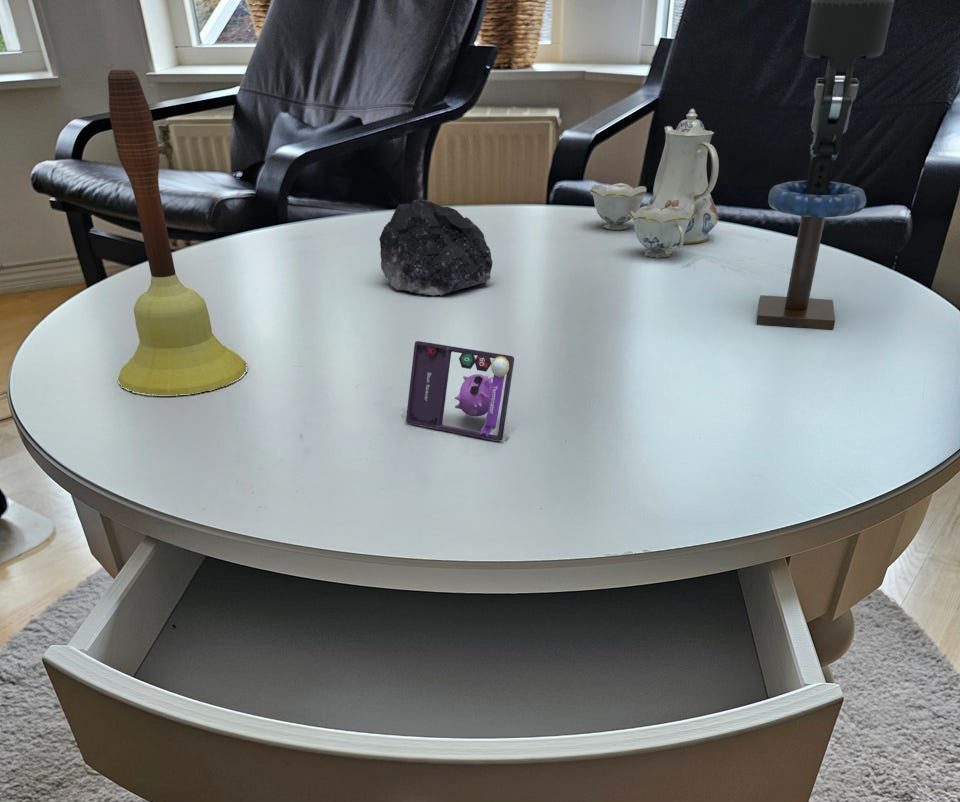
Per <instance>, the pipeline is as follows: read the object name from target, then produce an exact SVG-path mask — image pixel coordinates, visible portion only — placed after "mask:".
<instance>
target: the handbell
mask: <svg viewBox="0 0 960 802" xmlns="http://www.w3.org/2000/svg"><path fill="white" fill-rule="evenodd" d="M107 87H108V110H109V111H108V112H109V121H110V124H111V130H112V134H113V140H114V144H115V148H116V153H117V157H118V160H119V162H120V164H121V166H122V169H123V170H124V172H125V175H126V176H127V178H128V181H129V183H130V185H131V189H132V193H133V196H134V201H135V207H136V211H137V215H138V220H139V225H140V229H141V234H142V239H143V243H144V249H145V253H146V257H147V258H146V259H147V262H148V267H149V272H150V285H149V287H148V289H147V291H145V292H143V293H141V294H140V295H139V296H138V297H137V299H136V301H135V304H134V307H133V314H134V320H135V327H136V331H137V337H138V341H139V343H138V346H137V348H136V350H135V352H134V354H133V356H132V357H131V358H129V360H128V361H127V362H126V363H125V364H124V366H123V367H121V369H120V372H119V375H118V378H117V381H118V380H119V382H120V384H121V385H122V387H124V388H127V389H129V390H131V391H134V392H139V393H145V394H151V395H152V394H154V395H155V394H156V395H176V394H177V395H180V394H192V393H197V392H198V393H199V392H204V391H209V390H213V389H217V388H219V387H222V386H226V385H228V384H230V383H231V382H233V381H235V380H237V379H239V378H240V377H241V376H242V375H243V374H244V372H246V367H247V366H246V364H247V362H246V360H245V359H244V358H242V357H241V355H240V354H238V353H237V352H235V351H233V350H231V349H230V348H228V347H227V346H225V345H223V343H221V341H219V339H218V338H217V337H216V336H215V334H214V333H213V330H212V329H213V328H212V324H211V323H212V322H211V318H210V314H209V310H208V307H207V303H206V301H205V299H204V297H202V296H201V295H200V294H199V293H198V292H197V291H196V290H194V289H192V288H189V287H186V286H185V285H184V284H183V283H182V282H181V281H180V279H179V277H178V275H177V273H176V268H175V264H174V258H173V254H172V247H171V243H170V238H169V231H168V229H167V228H168V227H167V222H166V218H165V213H164V207H163V202H162V198H161V193H160V184H159V173H160V161H161V160H160V159H161V158H160V149H159V143H158V138H157V133H156V129H155V125H154V119H153V114H152V111H151V109H150V105H149V103H148V101H147V98H146V96H145V92H144V90H143V88H142V85H141V82H140V79H139V76H138V74H137V73H136V71H134V70H133V69H112V70H110V71H108V75H107ZM226 387H227V386H226ZM217 390H218V389H217Z"/></svg>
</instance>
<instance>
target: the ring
mask: <svg viewBox="0 0 960 802" xmlns="http://www.w3.org/2000/svg"><path fill="white" fill-rule="evenodd" d="M807 182H808V180H807V179H806V180H792V181H787V182H782V183H779V184H775V185H774V186H772V188H771V189H770V190H769V192H768V198H767V202H768V205H769V207H770V208H771V209H773V210H775V211H776V212H777V211H778V212H780V213H782V214H786V215H792V216H799V217H801V216H804V217H825V219H826V218H827V219H828V218H837V217H839V218H840V217H847V216H850V215H853V214H857V213H860V212H861V211H862V210H863V209H864V208H865V206H866V204H867V196H866V193H865V191H864V189H862V188H861V187H858V186H855V185H853V184H850V183H844V182H837V181H831V180H830V185H829V190H828V195H808V194H806V188H807Z"/></svg>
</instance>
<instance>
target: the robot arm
mask: <svg viewBox="0 0 960 802" xmlns="http://www.w3.org/2000/svg"><path fill="white" fill-rule="evenodd" d="M894 4H895V0H811V2H810V10H809V15H808V21H807V27H806V31H805V32H806V33H805V39H804V44H803V55H805V56H806V57H808V58H814V59H826V60H827V64H826V69H825V75H824V77H816V80H815V86H814V92H813V96H814V97H813V98H814V104H813V105H814V106H813V111H812V116H811V122H810V128H811V132H812V133H813V134H812V135H811V138H810V142H811V144H810V147H809V150H810V154H809V155H810V160H809V166H808V172H807V177H806V180H808V182H807V188H806V194H808V195H828V190H829V185H830V181H831V179H832V174H833V169H834V165H835V161H836V160H837V157H838V156H839V153H840V152H841V148H842V145H841V144H842V139H843V135H844V134H845V133H846V132H847V130H848V127H849V123H850V122H849V121H850V115H851V111H852V106H853V102H854V101H855V100H856V98H857V94H858V89H859V84H860V80H858V78H857V77H855V78H854V77H853V72H854V67H855V64H856V62H857V61H858V60H860V59H874V58H879V57H880V56H881V55H883V53H884V50H885V47H886V42H887V37H888V32H889V26H890V23H891V19H892V13H893V8H894Z"/></svg>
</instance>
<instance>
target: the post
mask: <svg viewBox="0 0 960 802" xmlns="http://www.w3.org/2000/svg"><path fill="white" fill-rule="evenodd" d="M800 217H801V218H800V222H799V228H798V232H797V239H796V244H795V248H794V254H793V258H792V265H791V270H790V276H789V282H788V287H787V293H786V296H781V295H780V296H779V295H767V294H766V295H765V294H764V295H763V294H760V295H759V298H758V303H757V304H758V305H757V313H756V322H755V324H756V325H762V326H774V327H775V326H776V327H788V328H789V327H790V328H805V329H819V330H831V331H833V330H834V328H835V324H836V316H835V307H834V300H833V299H828V298H813V297H812V298H811V292H812V287H813V283H814V277H815V272H816V267H817V261H818V256H819V251H820V247H821V240H822V237H823V230H824V226H825V221H826V218H825V217H804V216H800Z"/></svg>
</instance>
